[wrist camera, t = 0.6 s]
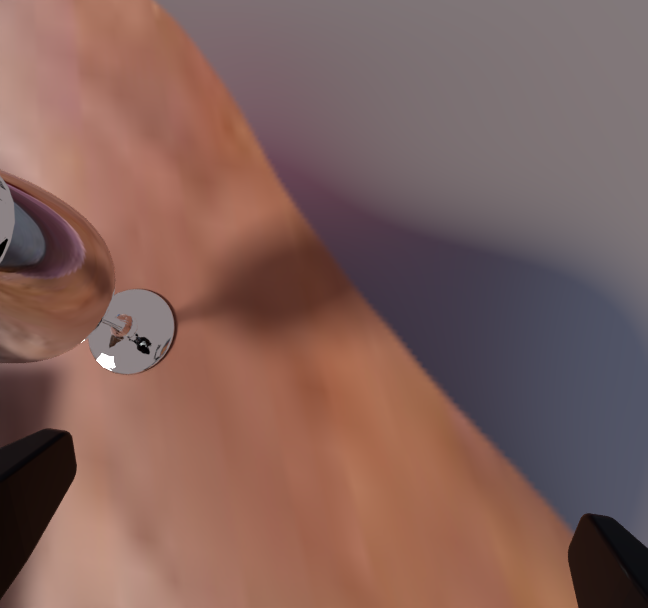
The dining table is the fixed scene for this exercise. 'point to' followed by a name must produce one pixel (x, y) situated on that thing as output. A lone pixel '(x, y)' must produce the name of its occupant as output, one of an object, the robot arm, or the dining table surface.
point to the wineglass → (69, 288)
